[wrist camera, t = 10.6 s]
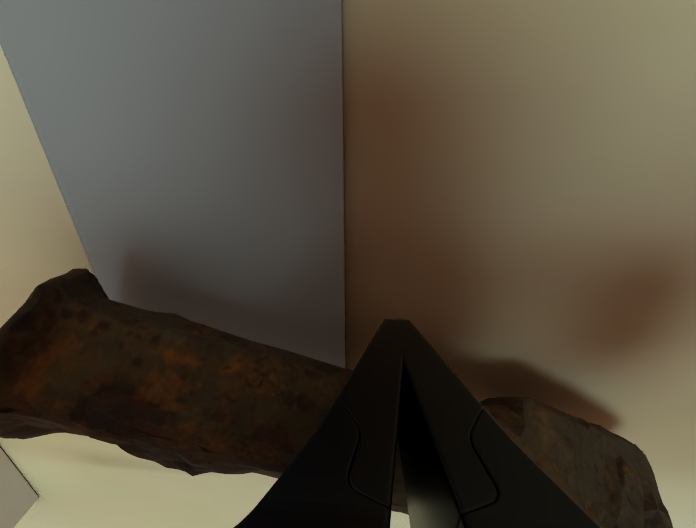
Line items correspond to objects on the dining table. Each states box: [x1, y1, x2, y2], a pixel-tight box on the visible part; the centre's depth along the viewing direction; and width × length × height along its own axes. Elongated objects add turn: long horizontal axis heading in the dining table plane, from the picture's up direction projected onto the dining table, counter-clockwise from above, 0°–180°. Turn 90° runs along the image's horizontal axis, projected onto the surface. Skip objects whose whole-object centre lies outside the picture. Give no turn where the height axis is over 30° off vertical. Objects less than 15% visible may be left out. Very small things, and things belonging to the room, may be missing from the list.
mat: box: [0, 0, 345, 368], centre depth 10 cm, size 8×16×1 cm, turn 0°
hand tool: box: [0, 269, 673, 528], centre depth 9 cm, size 19×4×5 cm, turn 70°
